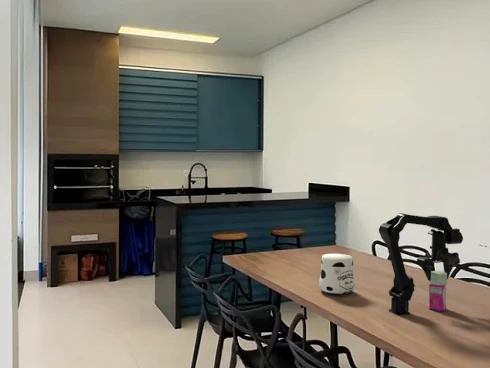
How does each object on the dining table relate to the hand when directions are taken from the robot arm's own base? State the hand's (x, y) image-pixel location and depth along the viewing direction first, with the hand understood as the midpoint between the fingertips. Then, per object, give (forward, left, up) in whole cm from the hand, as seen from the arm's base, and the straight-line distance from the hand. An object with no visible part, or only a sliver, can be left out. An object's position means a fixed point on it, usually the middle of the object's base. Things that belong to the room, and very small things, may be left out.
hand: (437, 279), depth 203 cm
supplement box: (0, 0, -13) cm, 13 cm away
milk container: (-30, +36, -13) cm, 49 cm away
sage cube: (0, 0, -2) cm, 2 cm away
